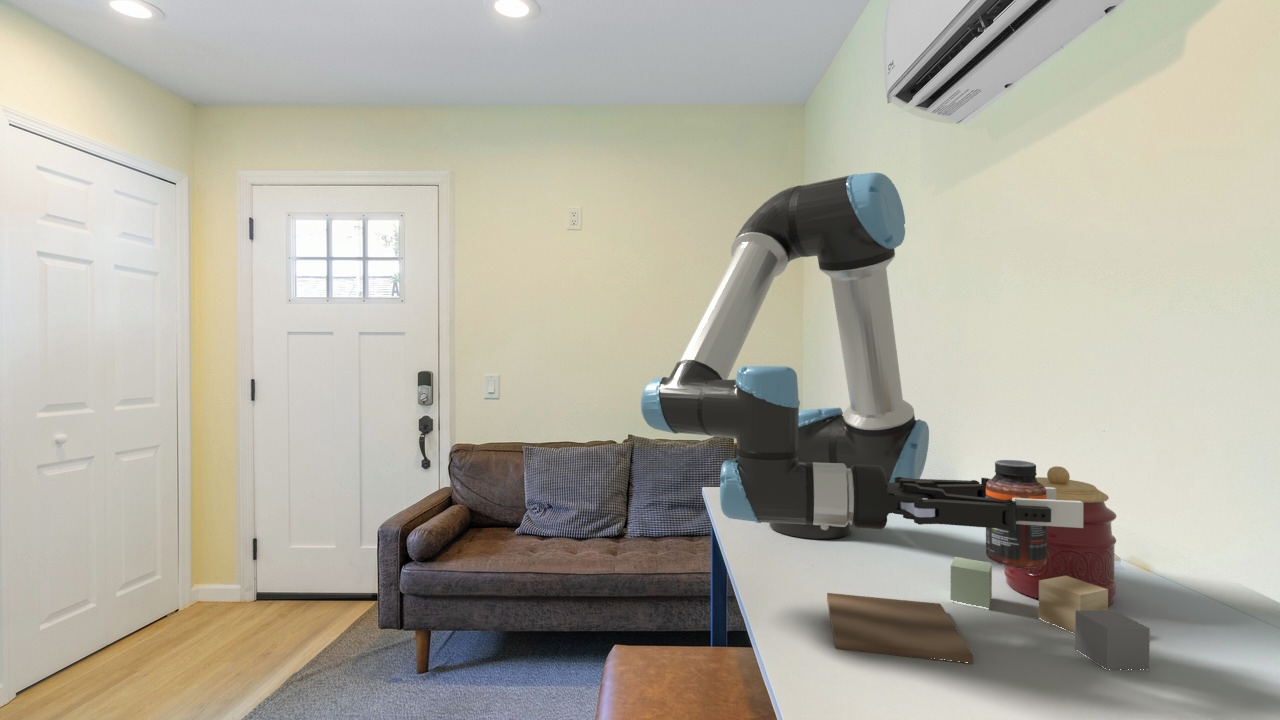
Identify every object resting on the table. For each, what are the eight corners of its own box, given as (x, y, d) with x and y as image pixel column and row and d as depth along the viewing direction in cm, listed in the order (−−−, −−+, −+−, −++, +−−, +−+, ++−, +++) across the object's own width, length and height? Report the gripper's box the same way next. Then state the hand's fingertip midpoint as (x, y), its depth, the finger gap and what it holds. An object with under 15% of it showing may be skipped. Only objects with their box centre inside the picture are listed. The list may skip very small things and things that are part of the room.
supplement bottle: (1051, 560, 69) (1051, 462, 68) (1042, 575, 64) (1043, 469, 64) (991, 549, 73) (992, 455, 72) (979, 562, 68) (980, 462, 68)
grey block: (1075, 650, 68) (1075, 610, 68) (1114, 650, 68) (1114, 610, 68) (1107, 671, 63) (1107, 628, 63) (1149, 671, 63) (1149, 628, 63)
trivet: (827, 600, 81) (827, 592, 81) (940, 611, 78) (940, 603, 78) (835, 648, 67) (835, 639, 67) (972, 664, 64) (972, 654, 64)
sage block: (954, 592, 84) (954, 556, 84) (991, 599, 82) (991, 562, 82) (950, 602, 81) (950, 565, 81) (989, 610, 78) (989, 572, 78)
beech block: (1038, 620, 76) (1038, 580, 76) (1065, 614, 77) (1065, 575, 77) (1080, 637, 71) (1080, 595, 71) (1107, 630, 73) (1108, 589, 73)
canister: (1039, 609, 79) (1040, 474, 79) (985, 574, 92) (986, 458, 92) (1141, 611, 78) (1142, 475, 78) (1072, 575, 91) (1073, 459, 91)
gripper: (842, 507, 82) (1033, 517, 76) (858, 551, 64) (1111, 569, 58) (842, 452, 82) (1033, 458, 76) (858, 480, 63) (1112, 492, 58)
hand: (1067, 506), depth 67 cm, fingers closed on supplement bottle, 6 cm apart
